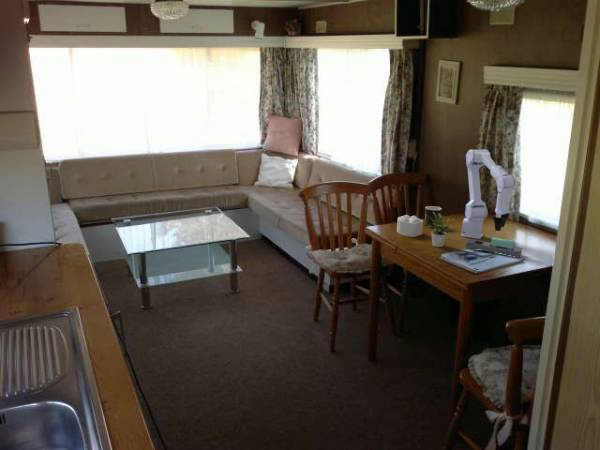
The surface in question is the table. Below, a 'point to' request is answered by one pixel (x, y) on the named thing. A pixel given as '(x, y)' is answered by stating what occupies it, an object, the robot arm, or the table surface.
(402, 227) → the lumpy-topped squat cylinder
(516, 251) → the rail
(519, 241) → the table surface
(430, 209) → the coffee mug
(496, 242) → the teal rectangular block
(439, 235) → the house plant
